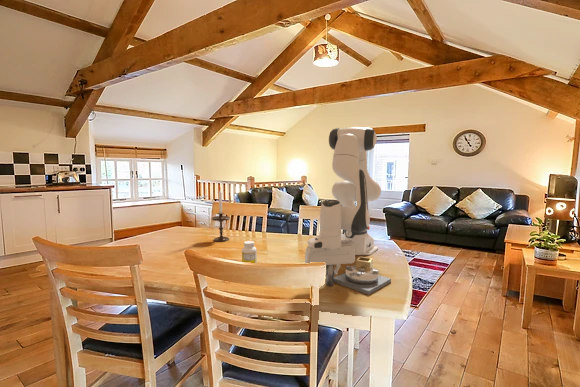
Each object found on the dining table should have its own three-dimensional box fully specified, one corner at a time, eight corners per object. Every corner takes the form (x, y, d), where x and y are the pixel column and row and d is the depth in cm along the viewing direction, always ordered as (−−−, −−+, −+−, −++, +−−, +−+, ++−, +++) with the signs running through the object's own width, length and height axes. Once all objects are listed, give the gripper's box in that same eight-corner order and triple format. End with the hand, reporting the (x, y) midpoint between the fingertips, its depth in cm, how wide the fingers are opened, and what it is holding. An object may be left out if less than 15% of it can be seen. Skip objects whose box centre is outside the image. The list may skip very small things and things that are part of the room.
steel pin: (329, 282, 124) (329, 261, 123) (335, 284, 121) (335, 263, 120) (324, 284, 121) (324, 262, 120) (330, 286, 119) (330, 264, 118)
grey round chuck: (374, 286, 115) (375, 270, 114) (341, 280, 121) (342, 265, 120) (381, 274, 128) (381, 259, 127) (350, 269, 133) (351, 255, 133)
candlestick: (213, 243, 183) (212, 185, 179) (211, 238, 193) (209, 184, 189) (231, 241, 186) (230, 185, 183) (228, 237, 197) (227, 183, 193)
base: (355, 271, 136) (355, 262, 136) (390, 282, 124) (391, 272, 123) (332, 281, 124) (332, 272, 124) (368, 294, 112) (369, 284, 112)
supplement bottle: (246, 266, 143) (245, 239, 141) (259, 267, 141) (258, 240, 139) (239, 271, 136) (239, 243, 135) (253, 272, 134) (252, 244, 133)
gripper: (352, 238, 124) (351, 270, 126) (303, 240, 121) (303, 273, 122) (358, 242, 118) (357, 275, 120) (307, 244, 115) (307, 279, 116)
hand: (329, 274), depth 121 cm, fingers closed on steel pin, 3 cm apart
